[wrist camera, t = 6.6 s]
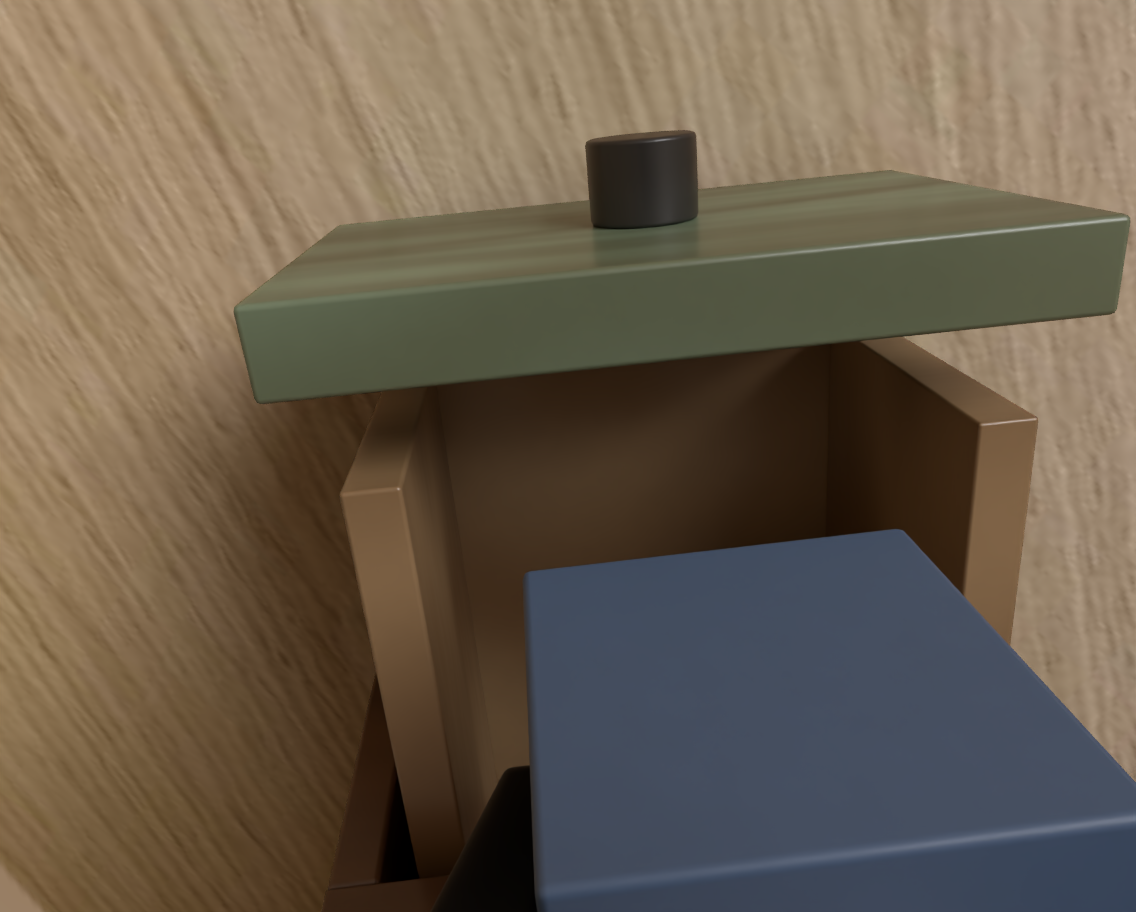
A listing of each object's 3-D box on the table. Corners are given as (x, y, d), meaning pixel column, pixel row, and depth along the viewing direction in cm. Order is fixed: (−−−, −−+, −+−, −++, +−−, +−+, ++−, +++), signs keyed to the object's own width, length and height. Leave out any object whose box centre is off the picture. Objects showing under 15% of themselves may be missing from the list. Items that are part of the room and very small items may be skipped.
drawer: (323, 156, 16) (202, 195, 9) (896, 100, 16) (1152, 101, 10) (441, 793, 21) (415, 1084, 15) (863, 742, 22) (1011, 1007, 15)
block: (558, 856, 11) (588, 1265, 7) (521, 568, 9) (533, 893, 5) (884, 816, 11) (1086, 1197, 7) (903, 524, 9) (1172, 814, 5)
